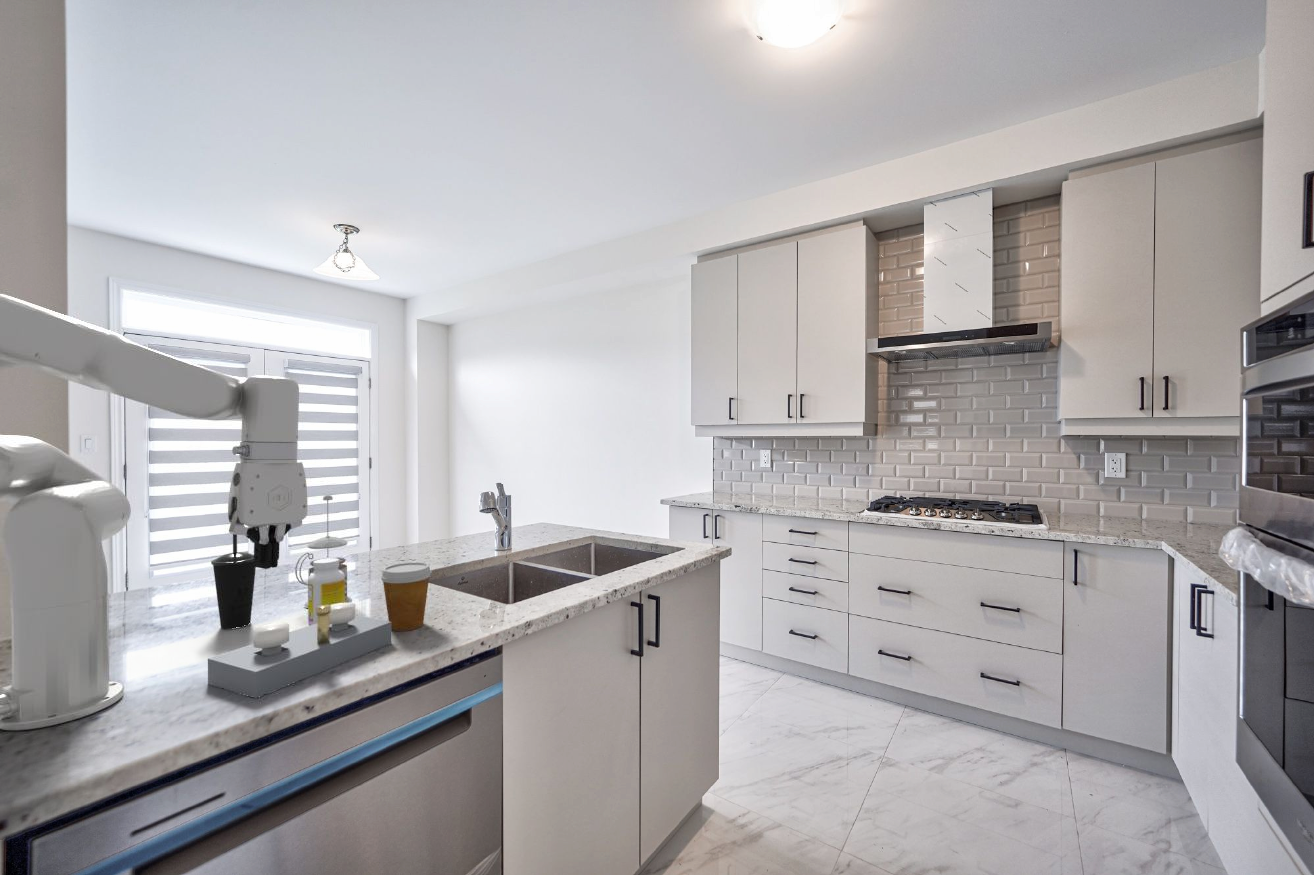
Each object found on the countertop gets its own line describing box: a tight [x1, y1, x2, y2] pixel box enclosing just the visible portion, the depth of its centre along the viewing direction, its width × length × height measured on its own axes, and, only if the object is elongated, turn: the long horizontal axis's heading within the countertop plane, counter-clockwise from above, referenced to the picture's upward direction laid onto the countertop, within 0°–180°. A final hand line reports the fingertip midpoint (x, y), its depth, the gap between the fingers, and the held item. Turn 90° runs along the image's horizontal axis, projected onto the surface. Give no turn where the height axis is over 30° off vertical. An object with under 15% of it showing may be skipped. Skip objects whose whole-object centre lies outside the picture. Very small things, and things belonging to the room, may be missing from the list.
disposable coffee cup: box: [379, 561, 432, 632], centre depth 114 cm, size 10×10×12 cm
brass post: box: [316, 605, 331, 644], centre depth 95 cm, size 2×2×6 cm
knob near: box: [252, 622, 290, 657], centre depth 91 cm, size 5×5×7 cm
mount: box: [207, 614, 392, 699], centre depth 96 cm, size 24×12×4 cm, turn 156°
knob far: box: [329, 602, 356, 632], centre depth 102 cm, size 5×5×7 cm
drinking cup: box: [211, 534, 257, 630], centre depth 114 cm, size 8×8×20 cm
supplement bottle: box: [307, 557, 345, 626], centre depth 117 cm, size 7×7×13 cm
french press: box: [294, 494, 353, 609], centre depth 129 cm, size 10×12×25 cm
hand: (266, 566), depth 91 cm, fingers closed
